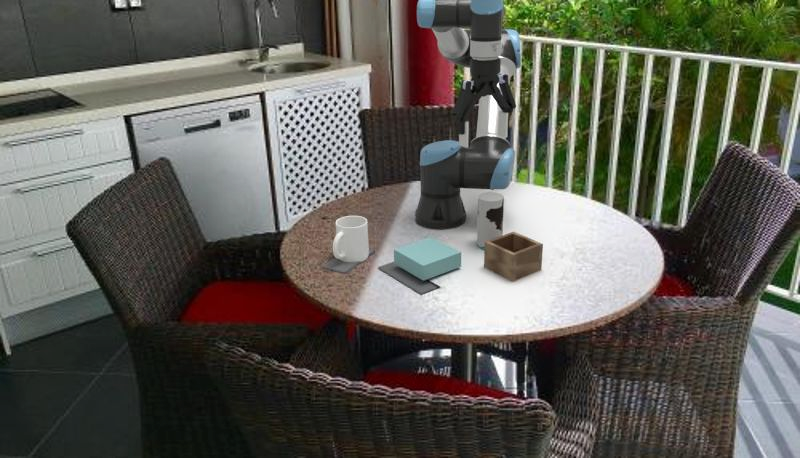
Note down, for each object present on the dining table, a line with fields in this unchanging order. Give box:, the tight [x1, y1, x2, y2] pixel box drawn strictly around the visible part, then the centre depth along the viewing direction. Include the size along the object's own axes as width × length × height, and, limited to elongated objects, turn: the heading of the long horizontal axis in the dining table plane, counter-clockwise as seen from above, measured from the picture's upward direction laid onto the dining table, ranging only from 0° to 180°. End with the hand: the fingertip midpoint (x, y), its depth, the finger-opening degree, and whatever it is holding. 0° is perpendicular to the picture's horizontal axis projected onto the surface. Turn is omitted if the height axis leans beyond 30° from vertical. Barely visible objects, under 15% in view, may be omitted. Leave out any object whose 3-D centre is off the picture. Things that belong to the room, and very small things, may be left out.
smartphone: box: [321, 247, 376, 275], centre depth 179 cm, size 8×1×15 cm
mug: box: [332, 215, 370, 263], centre depth 177 cm, size 12×8×10 cm
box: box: [483, 231, 544, 283], centre depth 169 cm, size 10×10×8 cm
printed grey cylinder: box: [476, 191, 505, 251], centre depth 180 cm, size 7×7×15 cm
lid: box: [393, 236, 462, 281], centre depth 171 cm, size 12×12×5 cm
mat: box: [377, 261, 442, 296], centre depth 172 cm, size 18×18×1 cm
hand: (483, 141), depth 176 cm, fingers open, 13 cm apart
